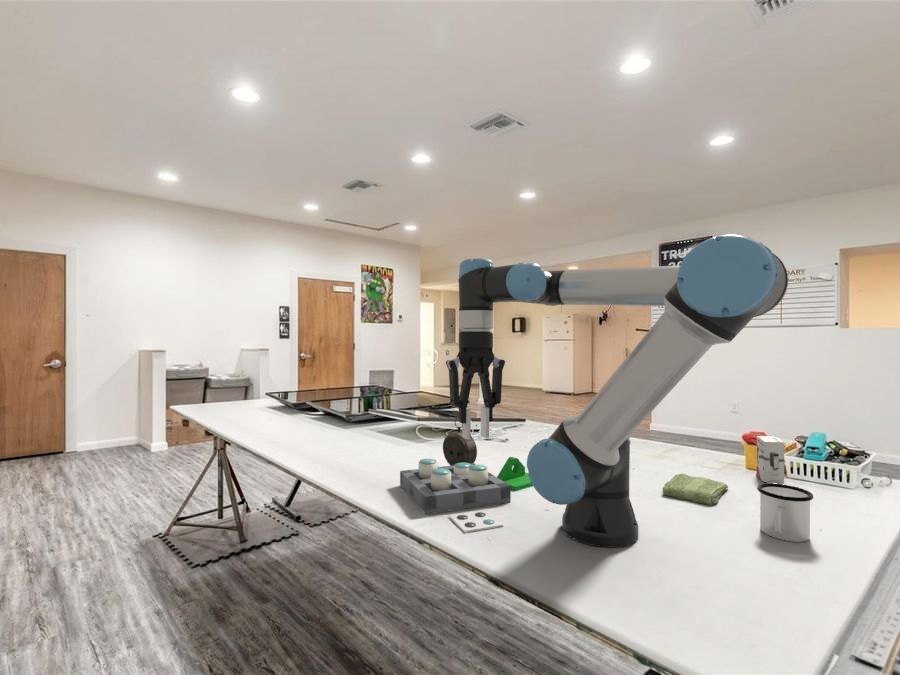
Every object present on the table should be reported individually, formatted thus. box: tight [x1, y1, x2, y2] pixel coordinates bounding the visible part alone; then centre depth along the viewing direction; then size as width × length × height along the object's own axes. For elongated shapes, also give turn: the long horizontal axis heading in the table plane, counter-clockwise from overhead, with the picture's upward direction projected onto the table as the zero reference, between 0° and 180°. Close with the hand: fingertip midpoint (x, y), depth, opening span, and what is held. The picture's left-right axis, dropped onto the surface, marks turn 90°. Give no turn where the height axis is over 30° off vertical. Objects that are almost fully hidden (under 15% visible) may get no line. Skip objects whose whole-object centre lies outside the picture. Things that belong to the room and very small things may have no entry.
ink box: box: [756, 435, 786, 485], centre depth 134 cm, size 9×5×12 cm, turn 161°
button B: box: [418, 458, 439, 479], centre depth 124 cm, size 5×5×4 cm
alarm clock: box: [442, 417, 478, 466], centre depth 142 cm, size 11×5×16 cm, turn 45°
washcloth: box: [662, 473, 729, 506], centre depth 123 cm, size 13×18×3 cm
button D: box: [454, 463, 471, 476], centre depth 128 cm, size 5×5×4 cm
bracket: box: [496, 456, 533, 492], centre depth 131 cm, size 12×8×7 cm, turn 129°
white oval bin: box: [756, 483, 814, 543], centre depth 96 cm, size 12×10×9 cm
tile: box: [448, 509, 504, 534], centre depth 103 cm, size 9×9×1 cm
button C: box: [468, 464, 489, 487], centre depth 119 cm, size 5×5×4 cm
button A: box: [431, 468, 451, 492], centre depth 115 cm, size 5×5×4 cm
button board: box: [399, 462, 512, 515], centre depth 122 cm, size 22×22×4 cm
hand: (475, 437), depth 103 cm, fingers open, 4 cm apart
